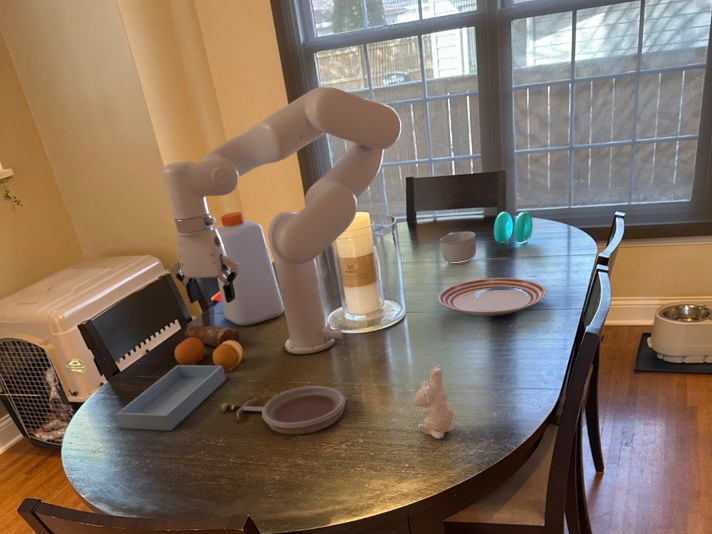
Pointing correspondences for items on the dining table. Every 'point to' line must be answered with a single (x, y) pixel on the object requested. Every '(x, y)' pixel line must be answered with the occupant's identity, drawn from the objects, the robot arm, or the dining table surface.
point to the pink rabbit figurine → (434, 406)
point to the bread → (212, 334)
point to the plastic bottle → (249, 272)
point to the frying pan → (299, 409)
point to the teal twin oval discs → (505, 227)
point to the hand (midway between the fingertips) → (212, 301)
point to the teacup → (458, 247)
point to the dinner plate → (491, 296)
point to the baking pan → (171, 397)
